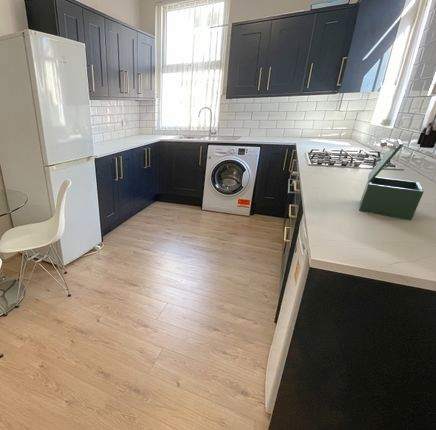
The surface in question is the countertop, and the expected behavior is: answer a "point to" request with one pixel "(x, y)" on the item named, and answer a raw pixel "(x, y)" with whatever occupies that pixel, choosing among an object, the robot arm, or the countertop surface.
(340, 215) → the countertop surface
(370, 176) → the bin lid
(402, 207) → the bin
